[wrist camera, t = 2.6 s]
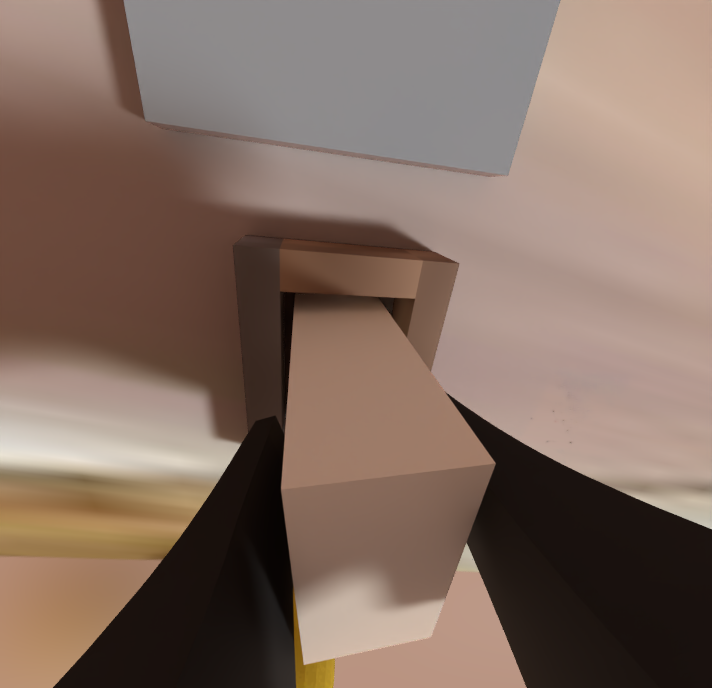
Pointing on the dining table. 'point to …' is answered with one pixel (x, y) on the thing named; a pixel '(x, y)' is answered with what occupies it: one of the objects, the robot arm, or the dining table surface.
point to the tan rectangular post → (371, 480)
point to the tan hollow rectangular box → (328, 276)
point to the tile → (347, 74)
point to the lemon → (313, 677)
